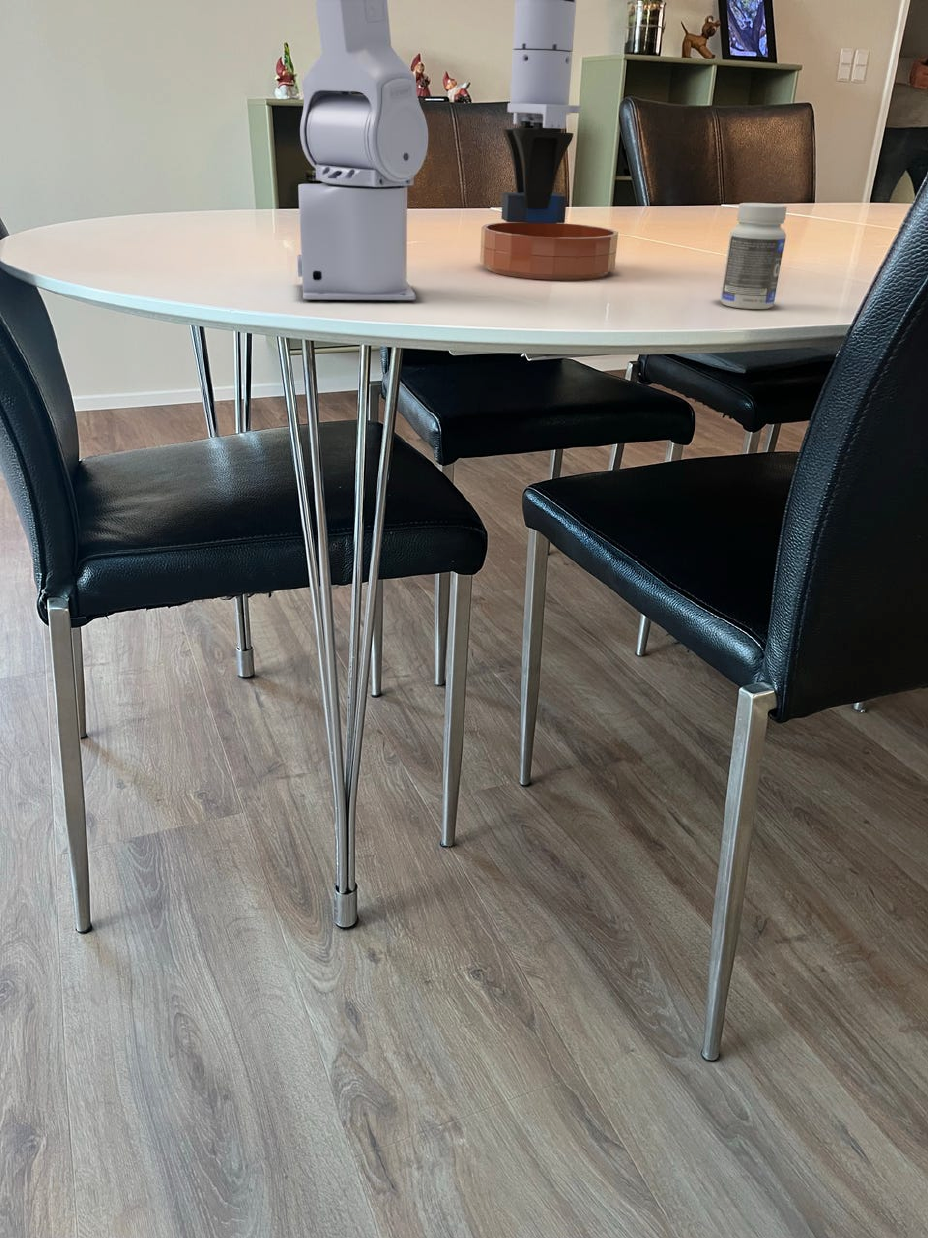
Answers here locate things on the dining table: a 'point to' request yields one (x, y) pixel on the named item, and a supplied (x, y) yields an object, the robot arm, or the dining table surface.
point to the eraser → (518, 212)
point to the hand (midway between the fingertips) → (532, 206)
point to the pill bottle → (754, 256)
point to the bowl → (548, 250)
